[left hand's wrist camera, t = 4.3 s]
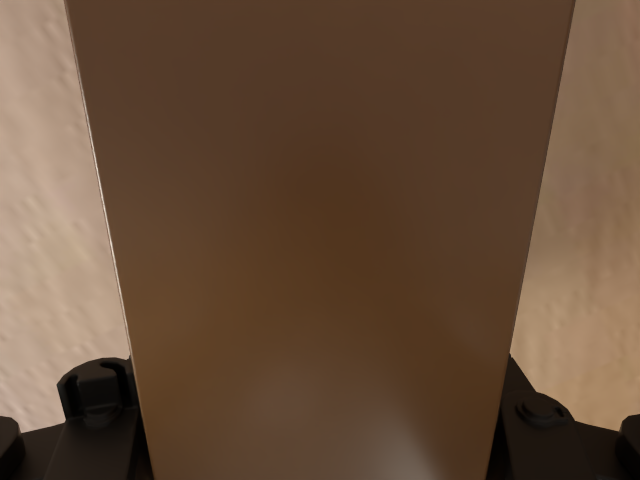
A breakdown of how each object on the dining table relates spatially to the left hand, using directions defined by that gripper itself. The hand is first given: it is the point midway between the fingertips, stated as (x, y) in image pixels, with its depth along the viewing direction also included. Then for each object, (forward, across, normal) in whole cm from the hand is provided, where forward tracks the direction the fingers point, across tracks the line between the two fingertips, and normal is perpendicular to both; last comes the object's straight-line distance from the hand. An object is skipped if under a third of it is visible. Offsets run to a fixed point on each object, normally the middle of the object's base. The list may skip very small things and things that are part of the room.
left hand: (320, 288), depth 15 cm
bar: (+1, 0, -7) cm, 7 cm away
